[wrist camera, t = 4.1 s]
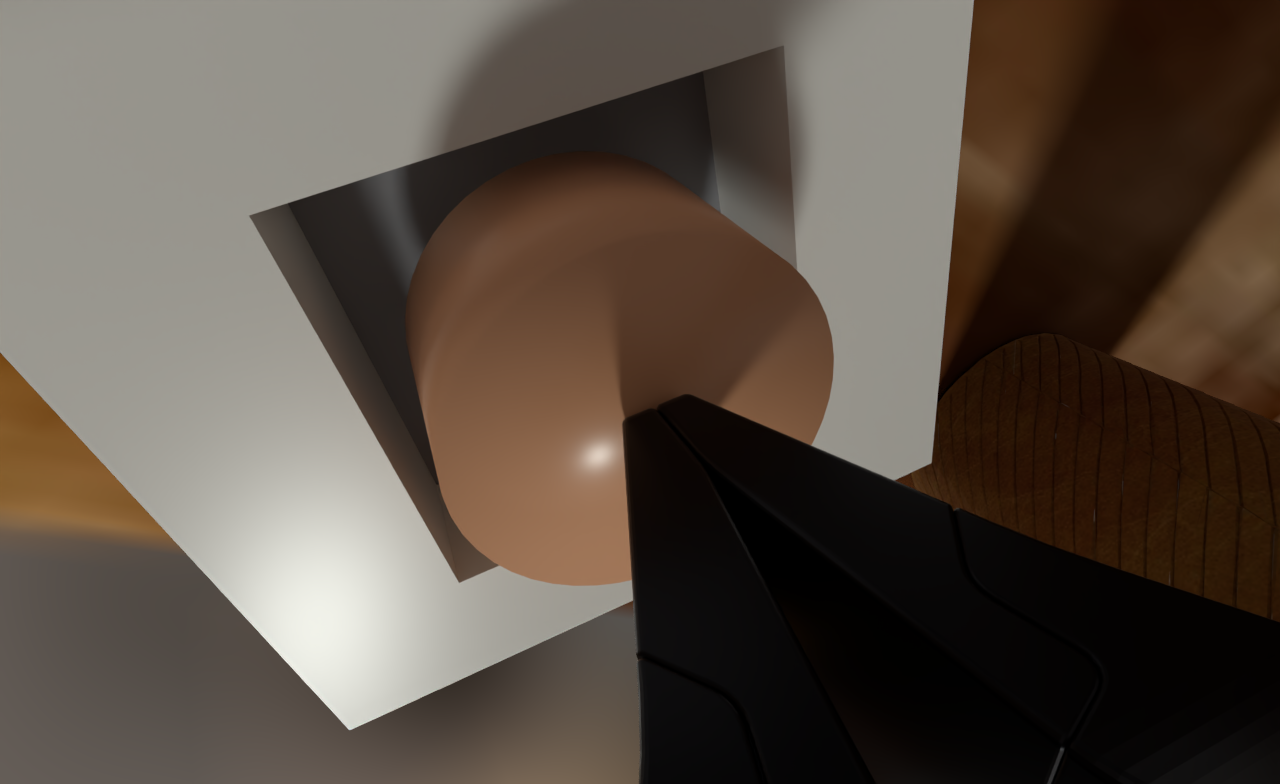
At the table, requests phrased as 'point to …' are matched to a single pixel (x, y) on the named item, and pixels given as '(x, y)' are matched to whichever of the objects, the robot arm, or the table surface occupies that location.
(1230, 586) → the disposable coffee cup
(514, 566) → the terracotta button
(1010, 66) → the table surface
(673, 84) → the button panel
